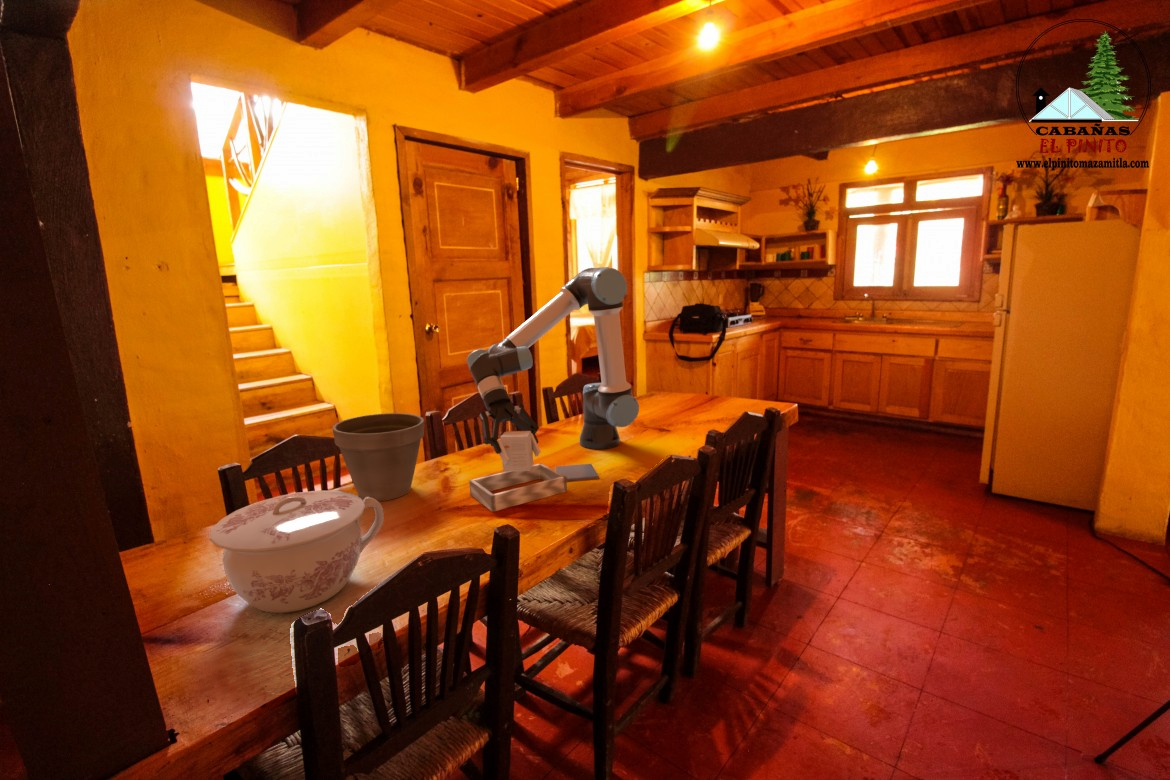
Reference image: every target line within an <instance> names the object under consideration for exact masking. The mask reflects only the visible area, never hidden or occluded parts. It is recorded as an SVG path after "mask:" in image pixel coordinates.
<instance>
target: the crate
mask: <svg viewBox="0 0 1170 780" xmlns="http://www.w3.org/2000/svg"><path fill="white" fill-rule="evenodd" d="M540 479H541V480H542V481H540V482H536V483H532V484H528V485H524V486H521V487H516V488H512V489H508V490H504V491H501V492H500V491H499V492H497V493H492V492H493V491H497V490H500V489H503V488H509V487H512V486H515V485H520V484H524V483H528V482H531V481H537V480H540ZM468 481H469V492H470V493H469V494H470V496H472V498H474V499H475V500H477V501H478V502H479V503H481V504H482V505H483V507H484V506H485V507H486V508H487V509H488V510H489V511H491V512H493V513H494V512H497V511H500V510H504V509H507V508H512V507H516V506H518V505H522V504H523V505H524V504H526V503H529V502H533V501H537V500H541V499H544V498H548V497H551V496H554V495H558V494H562V493H566V492H568V481H567V477H566V476H564V475H562V474H560V473H558V472H557V471H556V469H555V470H554V469H553V468H551V467H549V466H547V465H545V464H543V463H536V464H533V466H532V468H531V470H530V471H502V472H499V473H494V474H490V475H489V474H488V475H486V476H482V477H477V478H472V479H469V480H468Z"/></svg>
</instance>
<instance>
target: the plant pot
mask: <svg viewBox="0 0 1170 780" xmlns="http://www.w3.org/2000/svg"><path fill="white" fill-rule="evenodd" d="M332 432H333V439H334V444H335V446H337V447H338V448H339V450H340V453H341V455H342V458H343V460H344V463H345V466H346V469H347V471H348V473H349V477H350V478H351V482H352V483H353V486H354V488H355V490H356V492H357V494H358V495H357V496H358V497H360V498H361V499H363V500H364V498H365V497H371V498H374V499H375V500H377V501H378V502H384V501H390V500H395V499H397V498H401V497H403V496H405V495H407V494H408V493H409V492H410V490H411V487H412V483H413V478H414V474H415V470H416V467H417V460H418V457H419V456H418V455H419V452H420V445H421V440H422V439H423V438H424V436H425V420H424V417H422V416H420V415H417V414H411V413H401V412H393V413H388V412H386V413H375V414H367V415H360V416H355V417H351V418H347V419H344V420H342V421H341V420H340V421H339V422H337V423H335V424H334V425H333V426H332Z"/></svg>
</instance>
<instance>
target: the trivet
mask: <svg viewBox="0 0 1170 780" xmlns="http://www.w3.org/2000/svg"><path fill="white" fill-rule="evenodd" d="M554 468H555V471H557V472H558V473H560V474H562V475H564V476H566V477H567V482H573V481H574V482H575V481H584V480H585V481H586V480H597V479H599V474H598V473H597V471H596V469H595V467H594V466H593V464H592V463H583V464H581V463H580V464H570V465H558V466H555V467H554Z"/></svg>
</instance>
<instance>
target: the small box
mask: <svg viewBox="0 0 1170 780" xmlns="http://www.w3.org/2000/svg"><path fill="white" fill-rule="evenodd" d="M499 437H500V439H499V440H501V442H502V444H503V447H504V449H505V451H506V453H507V456H508V458H509V460H508V462H507V464H505V465H504V463H503V461H502V472H506V471H530V470H531V468H532V466H533V465H534V452H533V450H532V438H531V431H522V430H515V431H514V430H513V431H512V430H511V431H506V430H505V431H504V432H503V433H502V434H501V435H500V436H499Z"/></svg>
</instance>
